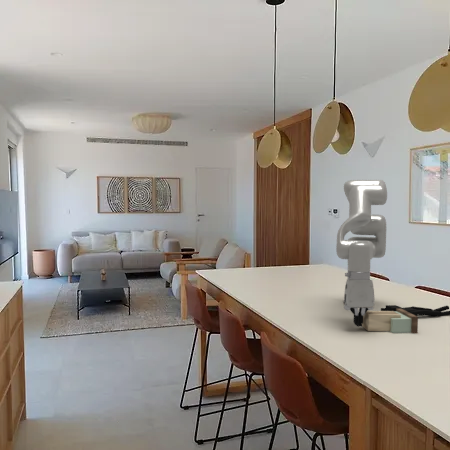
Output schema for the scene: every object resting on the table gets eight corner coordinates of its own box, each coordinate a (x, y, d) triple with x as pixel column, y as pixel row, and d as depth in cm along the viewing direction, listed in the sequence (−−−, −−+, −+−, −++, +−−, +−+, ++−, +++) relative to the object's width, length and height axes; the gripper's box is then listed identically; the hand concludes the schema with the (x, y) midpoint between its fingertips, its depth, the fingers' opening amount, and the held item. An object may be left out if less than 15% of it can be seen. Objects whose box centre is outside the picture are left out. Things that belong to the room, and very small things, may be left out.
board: (324, 323, 168) (324, 306, 168) (394, 321, 171) (395, 304, 170) (343, 339, 148) (343, 320, 148) (422, 337, 151) (422, 318, 151)
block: (379, 324, 163) (379, 311, 163) (396, 324, 164) (397, 311, 164) (392, 333, 153) (392, 319, 152) (411, 332, 153) (411, 318, 153)
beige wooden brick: (361, 326, 160) (362, 310, 159) (392, 326, 161) (393, 311, 160) (368, 330, 154) (369, 314, 154) (399, 331, 155) (400, 315, 155)
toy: (442, 314, 187) (380, 315, 181) (442, 303, 187) (381, 304, 180) (458, 320, 178) (393, 321, 171) (458, 308, 177) (394, 309, 171)
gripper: (342, 277, 152) (342, 328, 152) (383, 277, 153) (382, 328, 153) (335, 274, 159) (335, 322, 160) (374, 274, 160) (373, 322, 161)
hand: (358, 325), depth 157 cm, fingers closed
